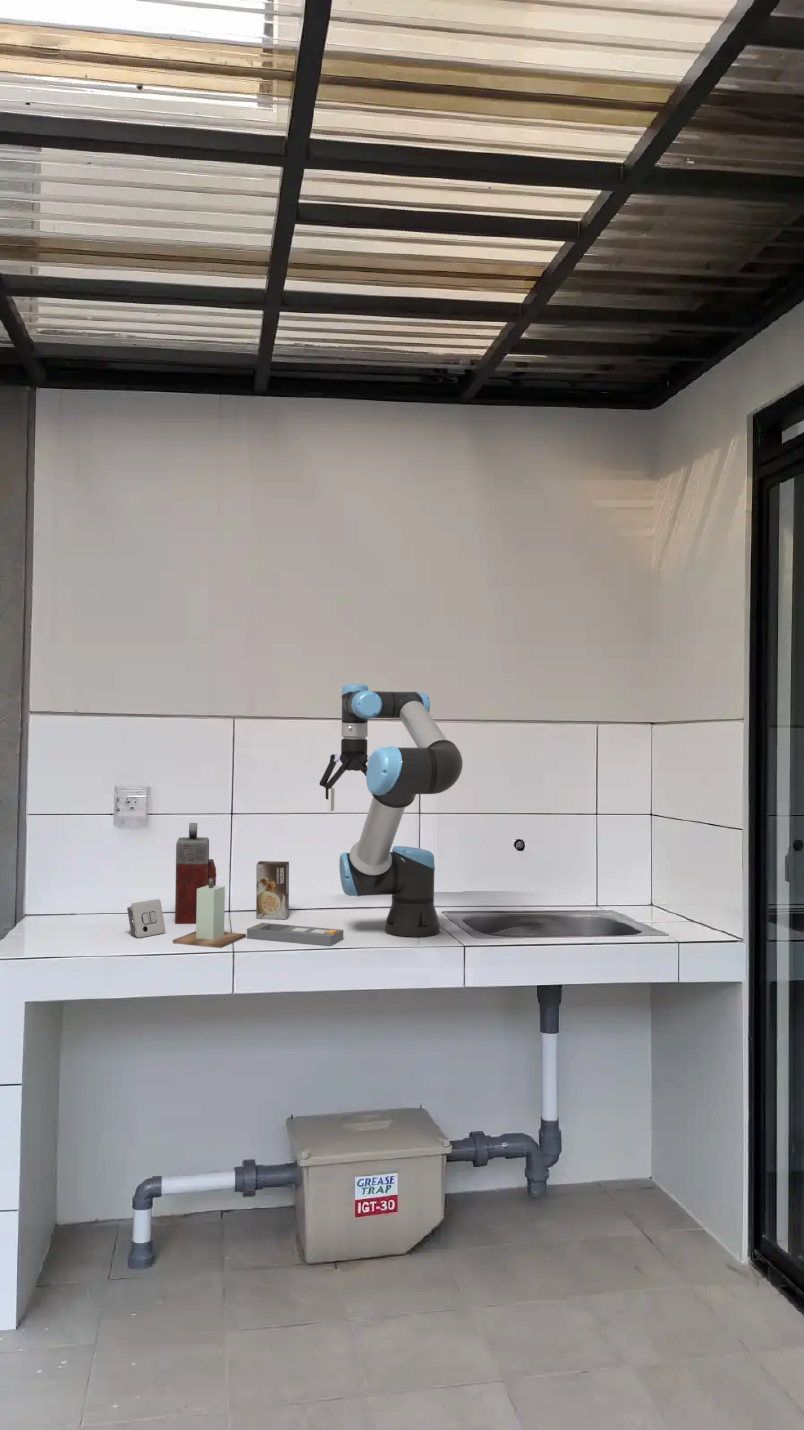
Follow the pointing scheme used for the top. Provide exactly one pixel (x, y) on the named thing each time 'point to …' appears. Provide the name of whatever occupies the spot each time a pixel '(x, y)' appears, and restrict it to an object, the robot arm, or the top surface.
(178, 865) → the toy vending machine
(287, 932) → the power strip
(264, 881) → the coffee box
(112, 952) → the top surface
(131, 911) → the electrical switch
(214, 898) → the pale green block
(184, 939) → the walnut pad
